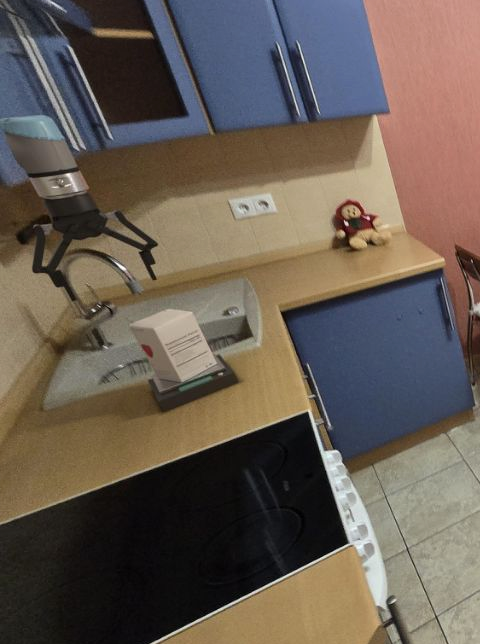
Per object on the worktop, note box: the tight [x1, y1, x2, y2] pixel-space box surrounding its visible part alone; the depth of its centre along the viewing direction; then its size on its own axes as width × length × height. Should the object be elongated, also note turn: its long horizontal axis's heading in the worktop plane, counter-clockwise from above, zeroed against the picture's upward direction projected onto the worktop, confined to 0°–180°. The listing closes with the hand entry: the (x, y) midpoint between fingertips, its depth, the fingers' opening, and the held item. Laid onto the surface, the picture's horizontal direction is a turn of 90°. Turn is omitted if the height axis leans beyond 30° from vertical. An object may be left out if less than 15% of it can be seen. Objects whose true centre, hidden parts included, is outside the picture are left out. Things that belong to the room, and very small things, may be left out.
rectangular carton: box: [128, 308, 217, 383], centre depth 128 cm, size 9×9×15 cm
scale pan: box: [151, 352, 226, 394], centre depth 132 cm, size 12×13×1 cm
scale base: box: [147, 353, 239, 413], centre depth 132 cm, size 15×15×3 cm
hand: (115, 288), depth 119 cm, fingers open, 13 cm apart
